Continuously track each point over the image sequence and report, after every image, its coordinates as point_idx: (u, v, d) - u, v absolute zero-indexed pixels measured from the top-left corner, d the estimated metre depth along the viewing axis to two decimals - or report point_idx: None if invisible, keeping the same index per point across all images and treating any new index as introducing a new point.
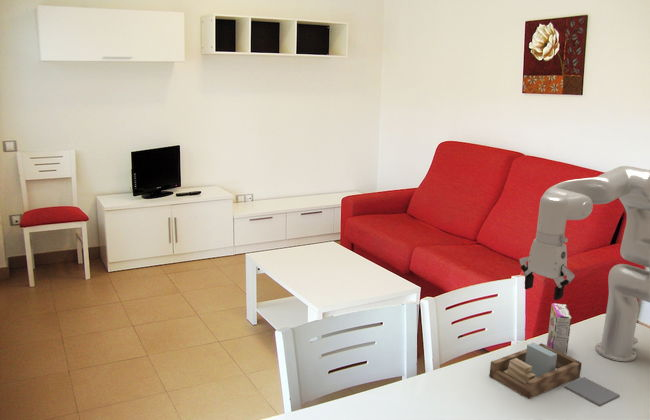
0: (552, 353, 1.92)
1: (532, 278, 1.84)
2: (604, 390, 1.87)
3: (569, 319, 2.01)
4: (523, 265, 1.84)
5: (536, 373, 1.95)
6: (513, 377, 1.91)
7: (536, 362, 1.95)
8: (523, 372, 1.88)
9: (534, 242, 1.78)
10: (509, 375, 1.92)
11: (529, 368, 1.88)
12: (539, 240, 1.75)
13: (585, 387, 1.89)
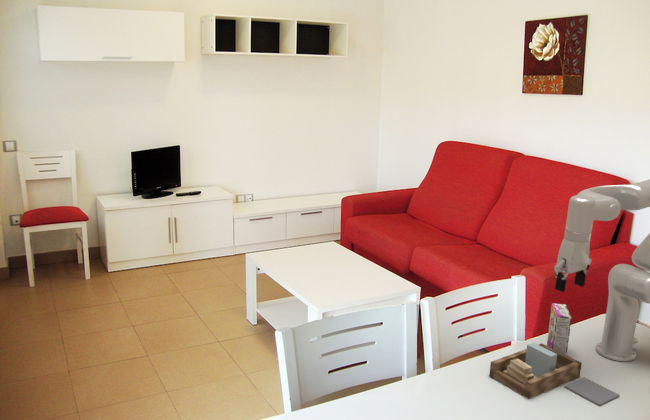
0: (552, 353, 1.92)
1: None
2: (604, 390, 1.87)
3: (569, 319, 2.01)
4: (560, 271, 1.89)
5: (536, 373, 1.95)
6: (513, 377, 1.91)
7: (536, 362, 1.95)
8: (523, 373, 1.87)
9: (575, 245, 1.88)
10: (509, 375, 1.92)
11: (529, 369, 1.87)
12: (585, 240, 1.87)
13: (585, 387, 1.89)
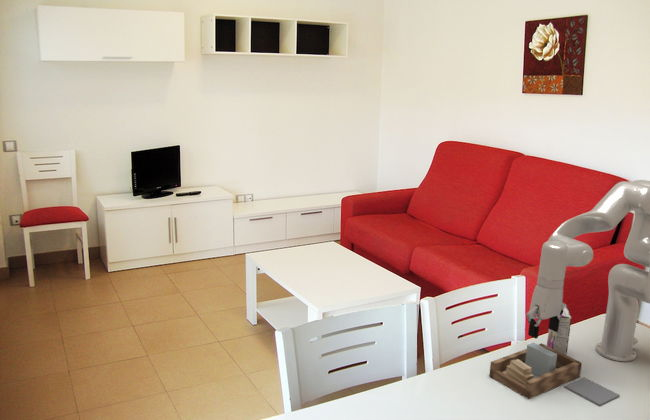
0: (552, 353, 1.92)
1: None
2: (604, 390, 1.87)
3: (569, 319, 2.01)
4: (532, 318, 1.87)
5: (536, 373, 1.95)
6: None
7: (536, 362, 1.95)
8: (522, 373, 1.87)
9: (548, 292, 1.85)
10: None
11: (528, 369, 1.87)
12: (558, 287, 1.85)
13: (585, 387, 1.89)
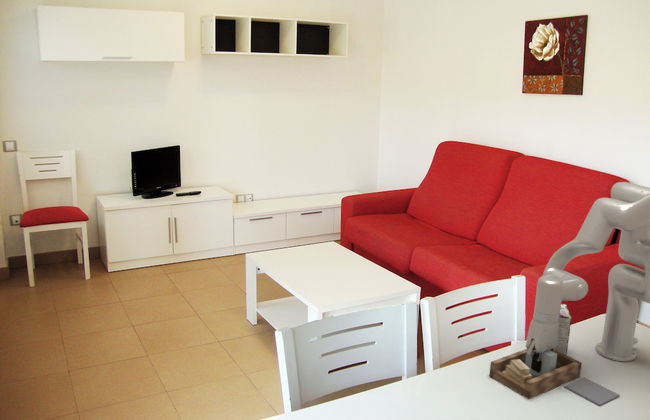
0: (552, 353, 1.92)
1: None
2: (604, 390, 1.87)
3: (569, 319, 2.01)
4: (535, 353, 1.92)
5: (536, 373, 1.95)
6: (512, 377, 1.91)
7: None
8: (519, 373, 1.87)
9: (544, 326, 1.88)
10: (508, 375, 1.92)
11: (526, 370, 1.87)
12: (554, 321, 1.88)
13: (585, 387, 1.89)
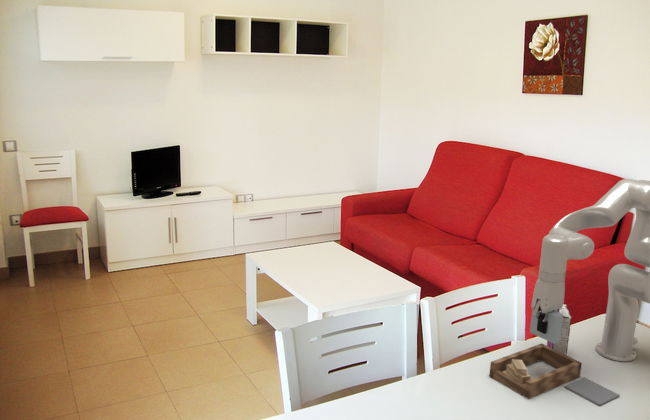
0: (558, 313, 1.89)
1: None
2: (604, 390, 1.87)
3: (569, 319, 2.01)
4: None
5: (542, 334, 1.92)
6: (511, 377, 1.91)
7: None
8: (516, 372, 1.87)
9: (549, 285, 1.85)
10: (507, 375, 1.92)
11: (523, 370, 1.87)
12: (559, 281, 1.85)
13: (585, 387, 1.89)
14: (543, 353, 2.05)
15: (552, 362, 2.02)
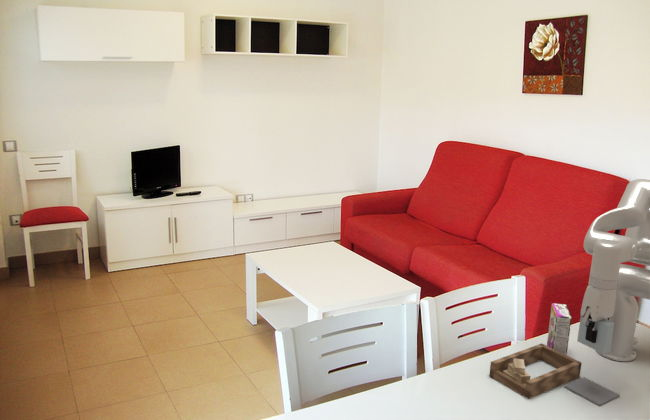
0: (609, 322, 1.80)
1: None
2: (604, 390, 1.87)
3: (569, 319, 2.01)
4: (590, 322, 1.80)
5: (591, 344, 1.83)
6: (511, 377, 1.91)
7: None
8: (514, 370, 1.88)
9: (601, 293, 1.76)
10: (508, 375, 1.92)
11: (521, 369, 1.87)
12: (612, 288, 1.76)
13: (585, 387, 1.89)
14: (543, 353, 2.05)
15: (552, 362, 2.02)
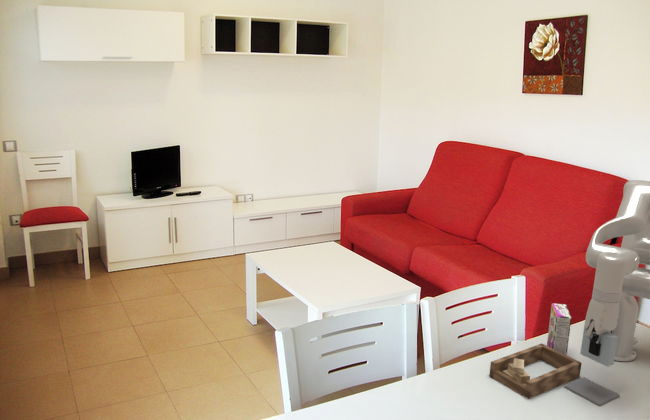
0: (613, 335, 1.80)
1: None
2: (604, 390, 1.87)
3: (569, 319, 2.01)
4: None
5: (594, 357, 1.83)
6: (511, 377, 1.91)
7: None
8: (513, 370, 1.88)
9: (605, 306, 1.76)
10: (507, 375, 1.92)
11: (520, 369, 1.87)
12: (616, 301, 1.76)
13: (585, 387, 1.89)
14: (543, 353, 2.05)
15: (552, 362, 2.02)
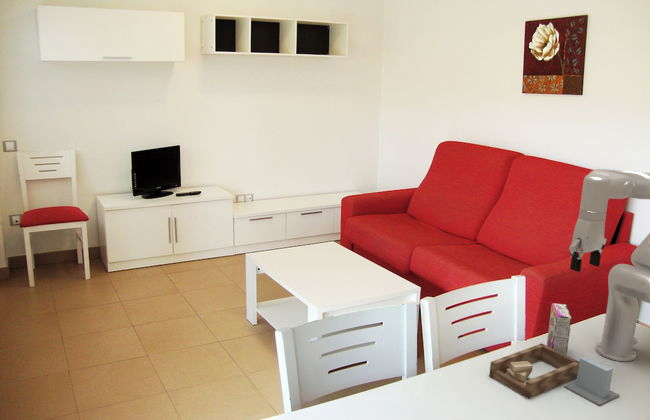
0: (608, 367, 1.83)
1: None
2: None
3: (569, 319, 2.01)
4: (575, 251, 1.87)
5: (590, 388, 1.86)
6: (512, 375, 1.92)
7: (590, 377, 1.86)
8: None
9: (591, 224, 1.86)
10: (510, 373, 1.94)
11: (512, 366, 1.89)
12: (601, 219, 1.86)
13: None
14: (543, 353, 2.05)
15: (552, 362, 2.02)
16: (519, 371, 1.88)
